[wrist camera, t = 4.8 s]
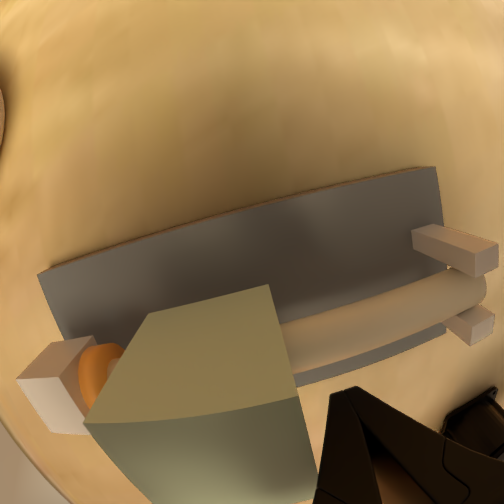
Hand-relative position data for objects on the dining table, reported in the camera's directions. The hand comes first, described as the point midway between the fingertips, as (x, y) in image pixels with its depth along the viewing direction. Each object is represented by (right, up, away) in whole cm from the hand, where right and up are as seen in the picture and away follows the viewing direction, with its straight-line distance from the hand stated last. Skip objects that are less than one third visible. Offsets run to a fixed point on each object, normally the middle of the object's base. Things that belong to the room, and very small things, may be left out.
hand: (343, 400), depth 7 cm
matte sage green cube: (-4, 0, +5) cm, 6 cm away
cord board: (-3, +1, +8) cm, 9 cm away
